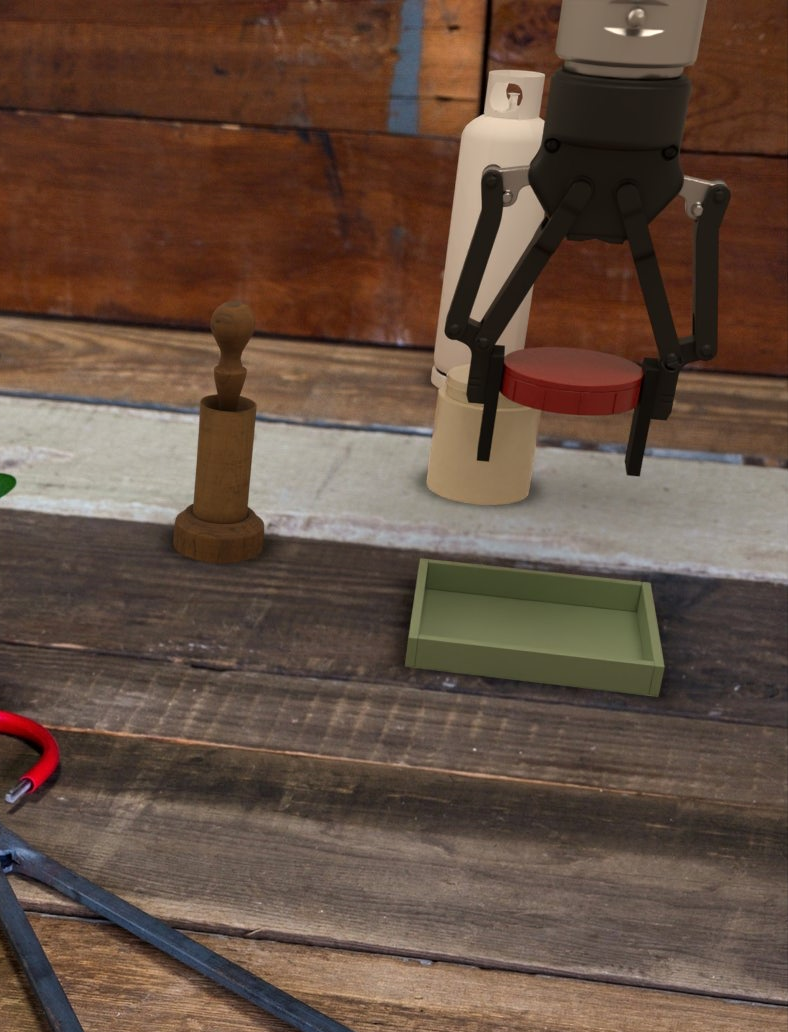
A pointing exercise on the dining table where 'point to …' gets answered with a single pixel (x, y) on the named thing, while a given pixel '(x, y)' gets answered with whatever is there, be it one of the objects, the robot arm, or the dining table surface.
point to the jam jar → (458, 444)
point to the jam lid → (571, 381)
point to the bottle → (506, 144)
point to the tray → (535, 627)
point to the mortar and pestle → (224, 455)
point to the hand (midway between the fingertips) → (557, 461)
